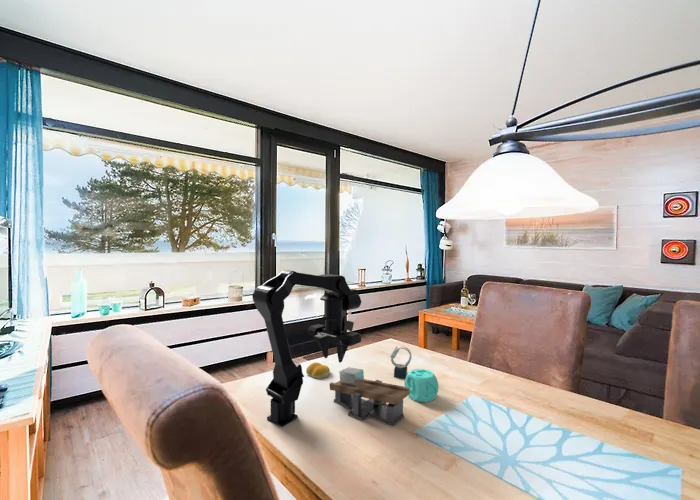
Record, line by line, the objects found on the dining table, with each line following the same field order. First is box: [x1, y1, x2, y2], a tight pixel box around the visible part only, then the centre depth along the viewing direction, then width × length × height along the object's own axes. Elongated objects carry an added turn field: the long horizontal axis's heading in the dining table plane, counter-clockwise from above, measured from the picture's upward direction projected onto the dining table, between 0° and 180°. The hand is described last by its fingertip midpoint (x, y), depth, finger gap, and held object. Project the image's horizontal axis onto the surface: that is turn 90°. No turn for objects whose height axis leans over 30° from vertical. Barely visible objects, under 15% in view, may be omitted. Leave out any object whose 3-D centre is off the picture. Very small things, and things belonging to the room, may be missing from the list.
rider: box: [339, 366, 365, 388], centre depth 110 cm, size 6×5×4 cm
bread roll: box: [305, 361, 331, 379], centre depth 133 cm, size 8×9×4 cm
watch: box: [389, 345, 412, 380], centre depth 132 cm, size 6×8×11 cm
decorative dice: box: [404, 368, 440, 403], centre depth 115 cm, size 8×8×8 cm
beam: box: [329, 378, 409, 405], centre depth 106 cm, size 24×8×2 cm, turn 52°
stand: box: [333, 379, 405, 427], centre depth 106 cm, size 22×13×7 cm, turn 52°
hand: (333, 360), depth 114 cm, fingers open, 6 cm apart
